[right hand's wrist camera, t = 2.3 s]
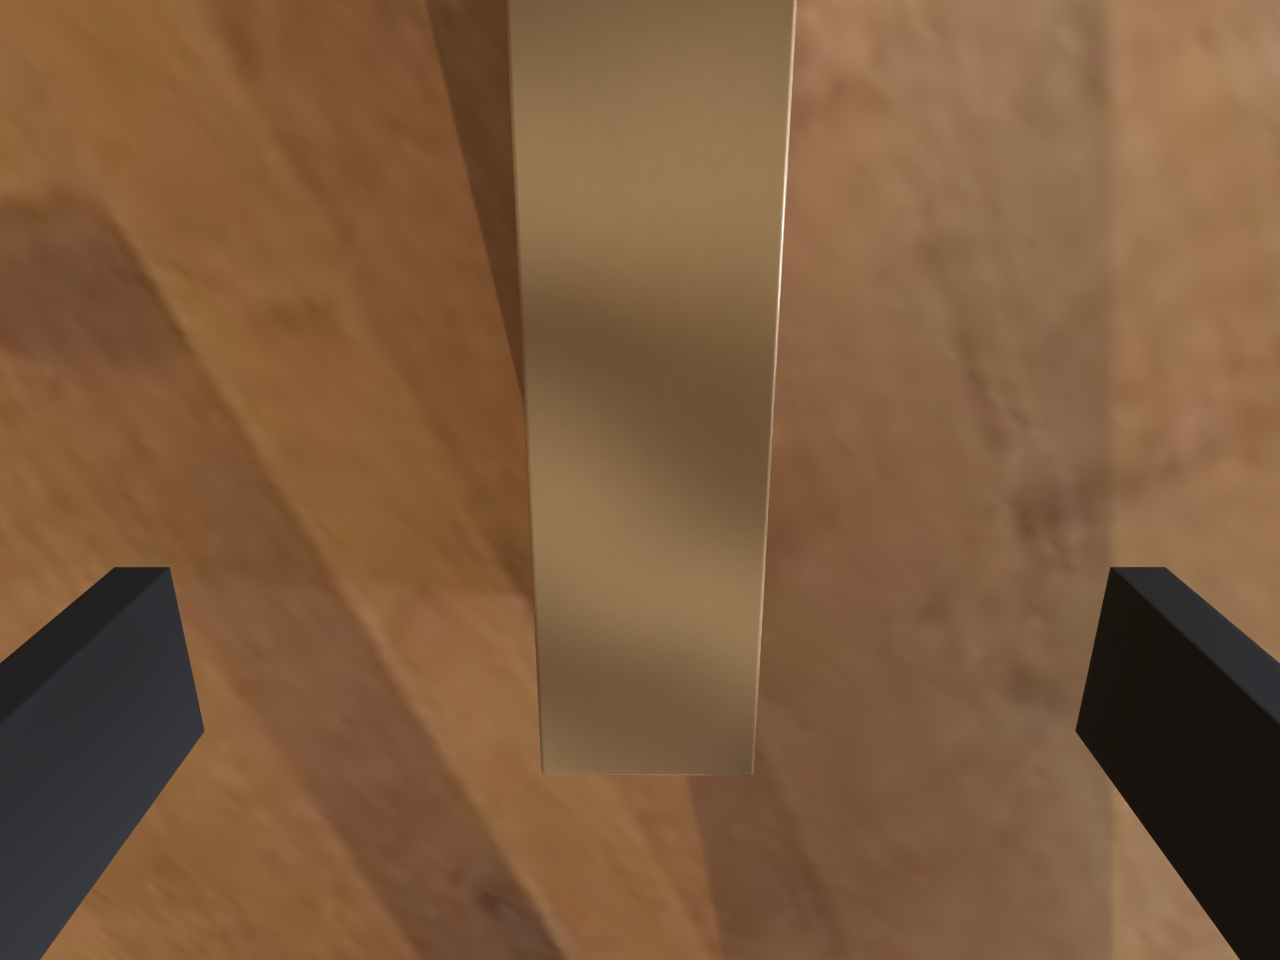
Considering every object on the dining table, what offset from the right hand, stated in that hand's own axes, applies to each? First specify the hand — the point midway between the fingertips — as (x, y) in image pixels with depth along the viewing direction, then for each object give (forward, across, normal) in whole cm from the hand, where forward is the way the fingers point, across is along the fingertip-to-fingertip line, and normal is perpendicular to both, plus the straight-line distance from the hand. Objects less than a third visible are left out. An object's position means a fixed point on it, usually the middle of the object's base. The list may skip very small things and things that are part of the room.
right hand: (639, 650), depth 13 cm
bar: (+14, 0, -26) cm, 29 cm away
